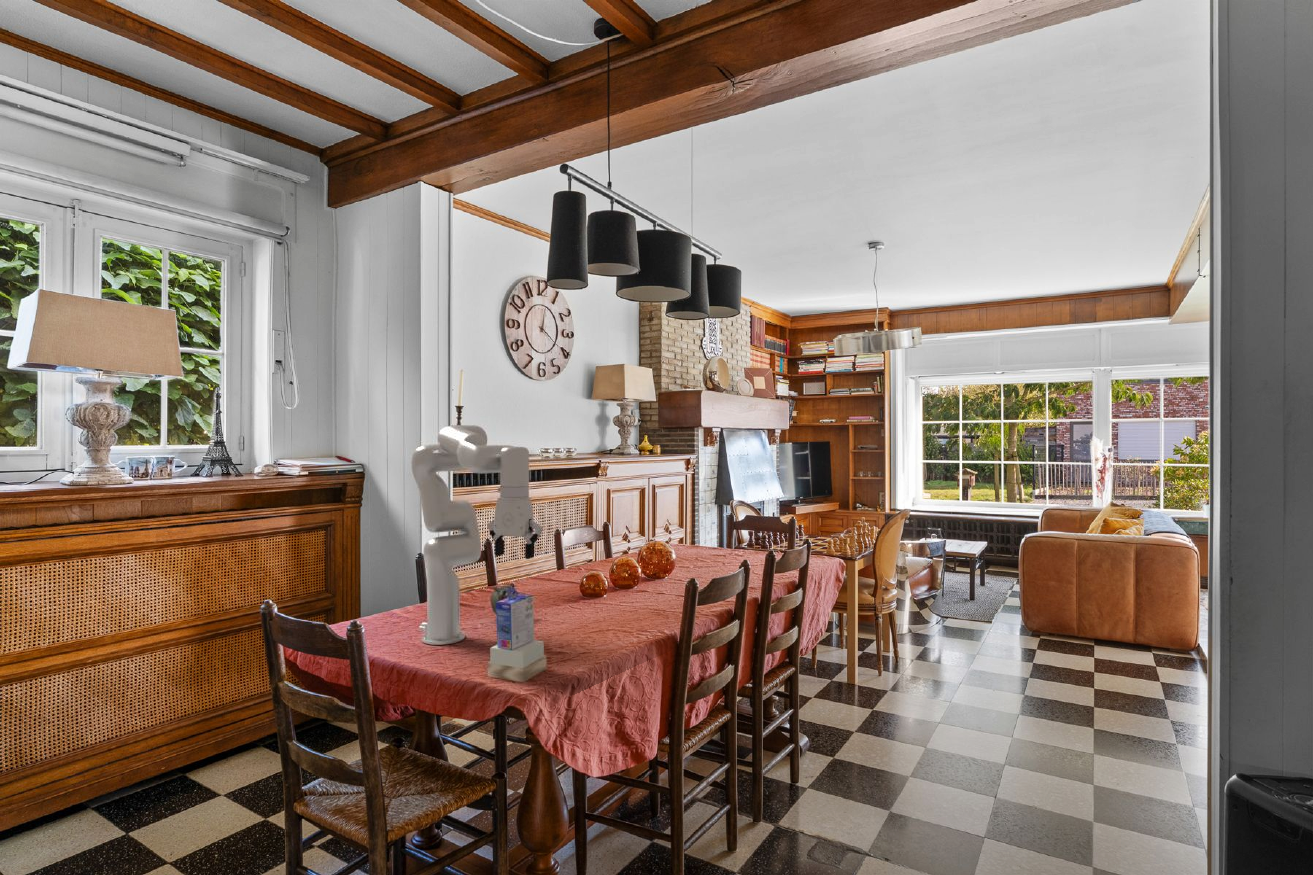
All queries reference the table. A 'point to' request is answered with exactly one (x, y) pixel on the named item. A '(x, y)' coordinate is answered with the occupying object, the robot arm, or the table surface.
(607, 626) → the table surface
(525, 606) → the ink cartridge box
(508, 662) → the tower top block
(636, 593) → the table surface
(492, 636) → the table surface
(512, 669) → the tower bottom block
